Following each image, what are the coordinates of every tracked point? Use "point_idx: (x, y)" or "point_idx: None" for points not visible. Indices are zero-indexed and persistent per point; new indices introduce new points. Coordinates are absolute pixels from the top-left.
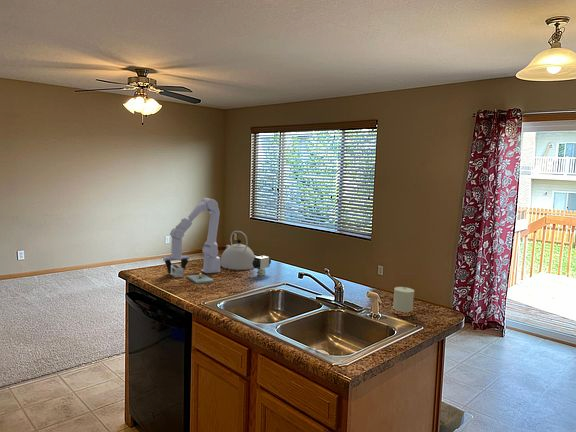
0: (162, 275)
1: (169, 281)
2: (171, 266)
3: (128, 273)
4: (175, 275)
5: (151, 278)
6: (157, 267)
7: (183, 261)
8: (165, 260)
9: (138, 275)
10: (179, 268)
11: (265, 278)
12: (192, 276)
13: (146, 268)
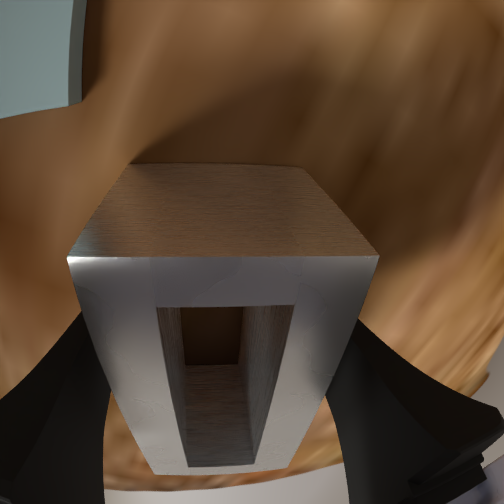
0: (368, 323)
1: (450, 20)
2: (302, 426)
3: (471, 386)
4: (293, 178)
5: (498, 249)
6: (261, 472)
7: (47, 497)
8: (500, 474)
9: (479, 349)
10: (216, 257)
11: None
12: (7, 28)
13: (332, 459)
